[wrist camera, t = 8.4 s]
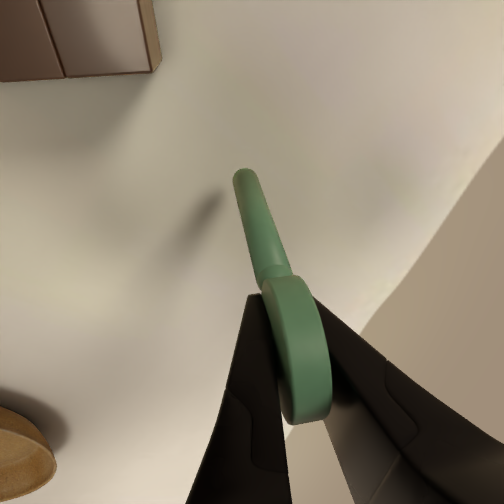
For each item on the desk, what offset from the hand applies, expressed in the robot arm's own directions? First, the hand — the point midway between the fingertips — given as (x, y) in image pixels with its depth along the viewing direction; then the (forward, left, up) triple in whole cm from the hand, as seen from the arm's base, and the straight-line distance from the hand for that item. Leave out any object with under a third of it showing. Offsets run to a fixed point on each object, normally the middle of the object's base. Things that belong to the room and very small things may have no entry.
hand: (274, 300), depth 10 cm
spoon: (0, -2, -6) cm, 7 cm away
